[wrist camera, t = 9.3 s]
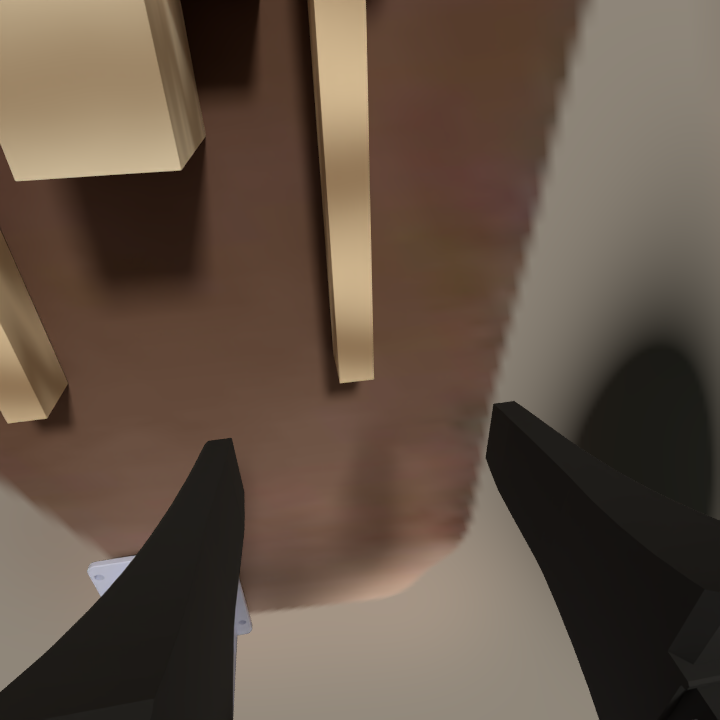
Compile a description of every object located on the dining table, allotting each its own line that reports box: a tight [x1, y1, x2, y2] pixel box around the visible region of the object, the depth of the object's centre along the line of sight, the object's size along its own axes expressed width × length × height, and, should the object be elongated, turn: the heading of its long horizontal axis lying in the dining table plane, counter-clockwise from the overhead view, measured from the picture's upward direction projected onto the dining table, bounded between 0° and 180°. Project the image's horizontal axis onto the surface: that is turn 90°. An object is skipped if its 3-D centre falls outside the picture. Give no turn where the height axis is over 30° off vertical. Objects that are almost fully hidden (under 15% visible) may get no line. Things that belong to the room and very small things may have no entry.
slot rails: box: [0, 0, 374, 423], centre depth 17 cm, size 16×15×2 cm
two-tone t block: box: [0, 0, 206, 181], centre depth 13 cm, size 7×9×6 cm
